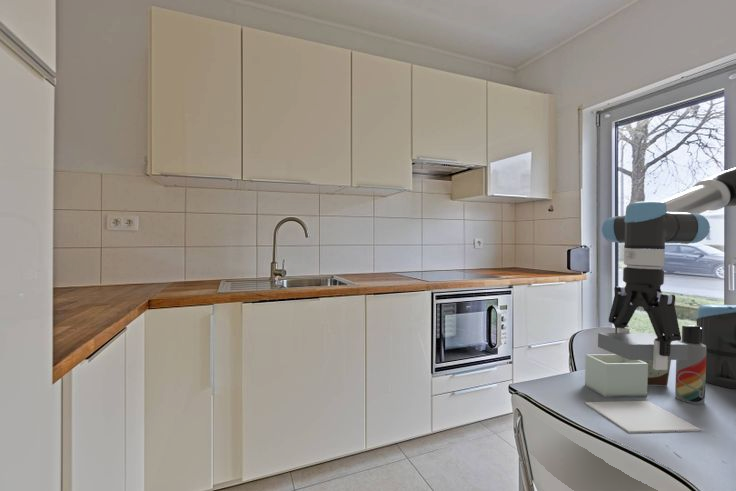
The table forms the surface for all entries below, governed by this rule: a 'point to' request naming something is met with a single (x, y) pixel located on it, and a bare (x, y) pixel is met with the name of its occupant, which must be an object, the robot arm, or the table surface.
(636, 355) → the lid
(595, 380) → the storage box
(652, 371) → the food container
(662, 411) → the mat
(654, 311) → the robot arm
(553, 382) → the table surface
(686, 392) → the lotion bottle
